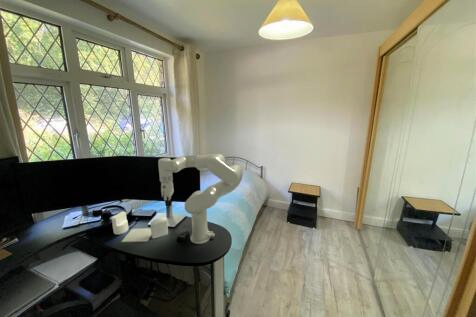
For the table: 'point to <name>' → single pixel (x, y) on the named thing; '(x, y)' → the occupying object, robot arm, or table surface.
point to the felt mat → (138, 235)
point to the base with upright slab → (120, 223)
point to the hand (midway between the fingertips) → (168, 205)
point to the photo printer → (159, 227)
